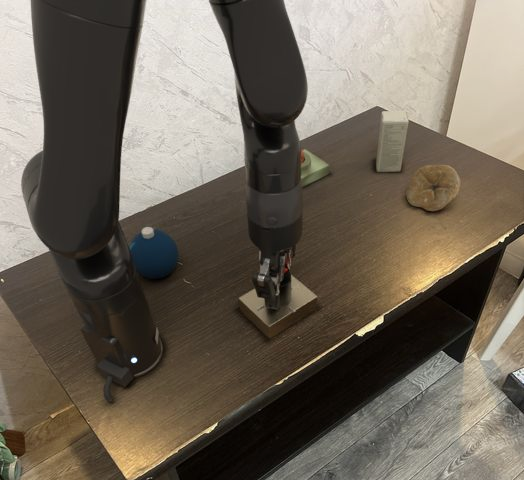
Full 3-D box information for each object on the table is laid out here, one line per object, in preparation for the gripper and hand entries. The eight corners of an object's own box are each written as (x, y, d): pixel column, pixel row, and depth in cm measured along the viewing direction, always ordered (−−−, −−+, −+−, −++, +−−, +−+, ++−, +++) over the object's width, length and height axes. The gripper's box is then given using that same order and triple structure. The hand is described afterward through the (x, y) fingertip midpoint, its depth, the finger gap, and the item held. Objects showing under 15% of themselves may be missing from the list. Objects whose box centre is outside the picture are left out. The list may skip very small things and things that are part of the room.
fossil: (416, 160, 98) (467, 165, 92) (423, 168, 102) (472, 174, 96) (400, 204, 99) (449, 213, 93) (407, 211, 103) (455, 220, 97)
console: (270, 340, 79) (269, 327, 77) (238, 309, 84) (237, 296, 81) (318, 310, 83) (318, 296, 80) (285, 282, 87) (284, 268, 85)
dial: (278, 311, 79) (278, 289, 75) (258, 298, 81) (256, 276, 77) (297, 295, 81) (297, 274, 77) (276, 283, 83) (276, 261, 79)
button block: (284, 196, 102) (283, 178, 99) (261, 178, 107) (260, 161, 103) (328, 174, 106) (329, 157, 103) (304, 158, 111) (305, 141, 107)
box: (399, 160, 108) (408, 110, 99) (400, 172, 106) (410, 121, 97) (374, 160, 109) (381, 110, 100) (375, 172, 106) (382, 121, 97)
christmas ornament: (145, 253, 94) (132, 209, 86) (188, 259, 92) (178, 214, 84) (128, 285, 89) (112, 240, 81) (173, 291, 87) (161, 246, 79)
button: (293, 168, 102) (293, 160, 101) (282, 160, 104) (282, 152, 103) (307, 161, 103) (307, 153, 102) (296, 154, 105) (296, 146, 104)
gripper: (266, 173, 72) (270, 262, 86) (228, 235, 64) (240, 323, 78) (316, 182, 70) (312, 271, 84) (284, 246, 62) (286, 334, 76)
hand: (277, 295), depth 81 cm, fingers closed on dial, 4 cm apart
